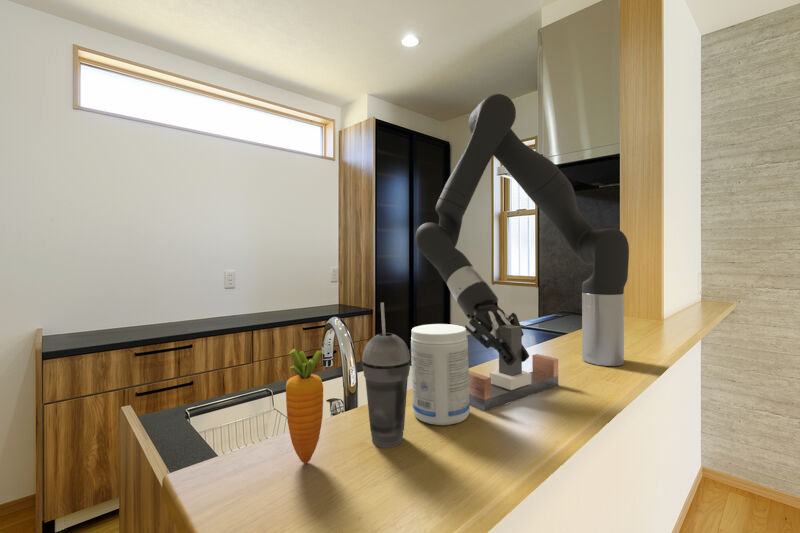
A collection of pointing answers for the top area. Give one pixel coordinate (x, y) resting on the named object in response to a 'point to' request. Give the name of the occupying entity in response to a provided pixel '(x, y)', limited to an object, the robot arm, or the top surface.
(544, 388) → the rail
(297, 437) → the carrot
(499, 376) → the block
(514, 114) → the robot arm
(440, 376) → the supplement tub
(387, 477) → the top surface
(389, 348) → the beverage cup
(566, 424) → the top surface
